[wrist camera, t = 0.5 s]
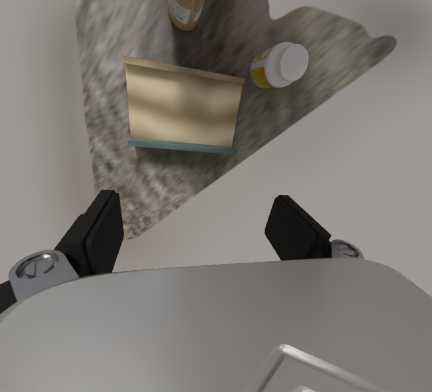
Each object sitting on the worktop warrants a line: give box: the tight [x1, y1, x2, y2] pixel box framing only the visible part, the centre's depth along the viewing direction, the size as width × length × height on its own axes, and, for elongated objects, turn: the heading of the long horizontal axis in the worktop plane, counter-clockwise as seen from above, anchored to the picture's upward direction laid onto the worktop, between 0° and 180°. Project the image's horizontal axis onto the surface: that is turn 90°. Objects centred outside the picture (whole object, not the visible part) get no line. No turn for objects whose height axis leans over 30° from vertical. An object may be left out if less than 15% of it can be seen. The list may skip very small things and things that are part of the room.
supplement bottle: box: [250, 42, 309, 88], centre depth 28 cm, size 5×5×10 cm
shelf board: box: [123, 56, 246, 155], centre depth 31 cm, size 12×18×4 cm, turn 83°
